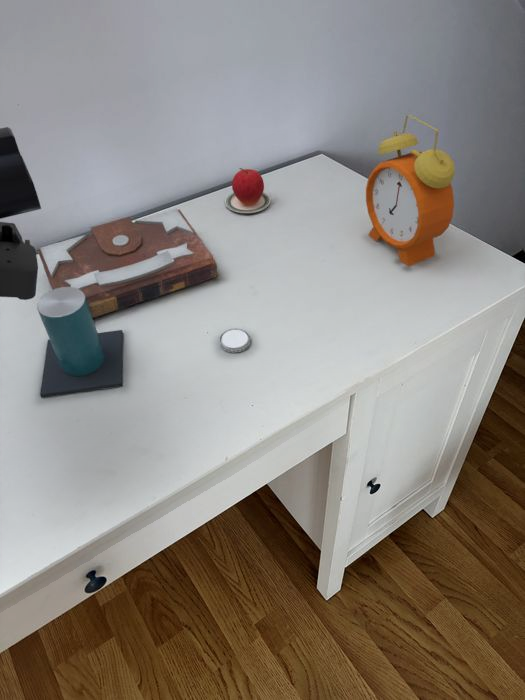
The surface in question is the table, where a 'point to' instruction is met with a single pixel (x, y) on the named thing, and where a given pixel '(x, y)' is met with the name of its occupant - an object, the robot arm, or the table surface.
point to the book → (130, 261)
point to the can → (71, 330)
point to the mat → (102, 378)
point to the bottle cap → (234, 340)
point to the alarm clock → (410, 197)
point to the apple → (247, 193)
